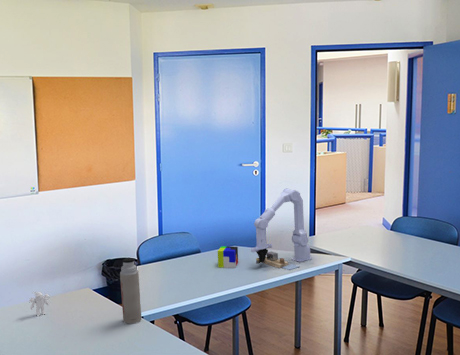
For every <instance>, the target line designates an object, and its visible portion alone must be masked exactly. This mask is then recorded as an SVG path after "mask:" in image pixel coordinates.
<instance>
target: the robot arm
mask: <svg viewBox="0 0 460 355" xmlns="http://www.w3.org/2000/svg"><path fill="white" fill-rule="evenodd" d="M289 202H291V203H292V204H293V214H294V218H293V219H294V222H293V223H294V230H293V231H292V236H291V242H293V249H294V250H293V251H294V252H293V254H294V255H293V256H294V257H292V258H291V260H293V261H297V262H299V263H301V262H306V261H309V260H311V259H312V257H311V246H310V245H309V244H308V243H309V236H308V233H307V232H306V230H305V219H304V200H303V198H302V196H301V192H299V191H298V190H296V189H291V188H284V189H283V190H282V191H281V192H280V194H279V197H278V198H277V199H276V200H275V201H274V203H273V204H272V206H271V207H269V208H265V209H264V212H263V213H262V214H261V215H260V216H259V217H258V218H256V219H255V220H254V223H253V226H254V227H255V231H256V234H255V235H256V238H255V239H256V245H255V247H252V248H251V249H250V252H251V253H255V252H256V255H257V256H258V258H259V259H260V263H262V262H264V261H265V257H267V252H269V249H270V248H271V249H272V248H273V244H272V243H267V241H268V240H267V228H268V227H269V223H270V221H271V220H272V219H273V218H274V217H275V215H276V211H277V210H278V209H280V207H281V206H283V204H284V203H289Z"/></svg>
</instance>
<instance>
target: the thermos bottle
mask: <svg viewBox="0 0 460 355" xmlns="http://www.w3.org/2000/svg"><path fill="white" fill-rule="evenodd" d="M137 267H138V266H137V265H135V258H134V257H133V258H132V257H126V258H123V259H122V266H121V267H120V268H121V269H120V270H121V271H120V272H119V279H120V292H121V306H122V320H123V323H124V324H128V325H132V324H138V323H139V322H141V321H142V306H141V292H140V278H139V275H140V274H139V273H140V272H139V270H138V268H137Z"/></svg>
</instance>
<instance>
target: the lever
mask: <svg viewBox="0 0 460 355" xmlns="http://www.w3.org/2000/svg"><path fill="white" fill-rule="evenodd" d="M266 257H267V256H266ZM266 257H265V259H266ZM255 260H256V262H255V264H257V265H258V264H259V265H260V264H261V262H260V259H259V257H256V258H255Z"/></svg>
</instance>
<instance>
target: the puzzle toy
mask: <svg viewBox="0 0 460 355" xmlns="http://www.w3.org/2000/svg"><path fill="white" fill-rule="evenodd" d="M238 249H239V247H238V246H226V245H225V246H223V245H222V246H220V247H219V249H218V250H217V267H218V268H221V269H222V268H223V269H224V268H226V269H235V268H236V267H237V265H238V264H239V252H238V251H239V250H238Z"/></svg>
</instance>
